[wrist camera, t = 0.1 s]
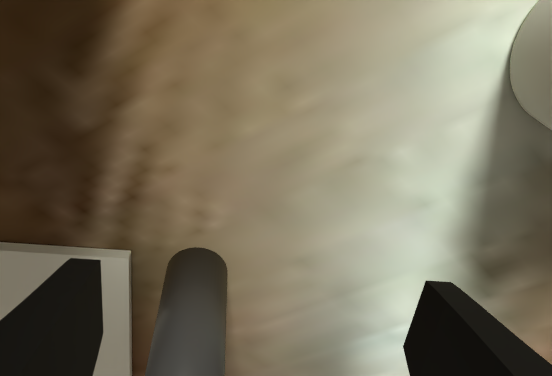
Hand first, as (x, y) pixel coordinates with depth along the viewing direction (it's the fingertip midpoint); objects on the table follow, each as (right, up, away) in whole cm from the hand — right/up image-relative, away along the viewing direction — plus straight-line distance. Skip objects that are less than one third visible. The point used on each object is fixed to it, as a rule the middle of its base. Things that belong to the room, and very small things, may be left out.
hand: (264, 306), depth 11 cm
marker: (-3, -1, +12) cm, 12 cm away
